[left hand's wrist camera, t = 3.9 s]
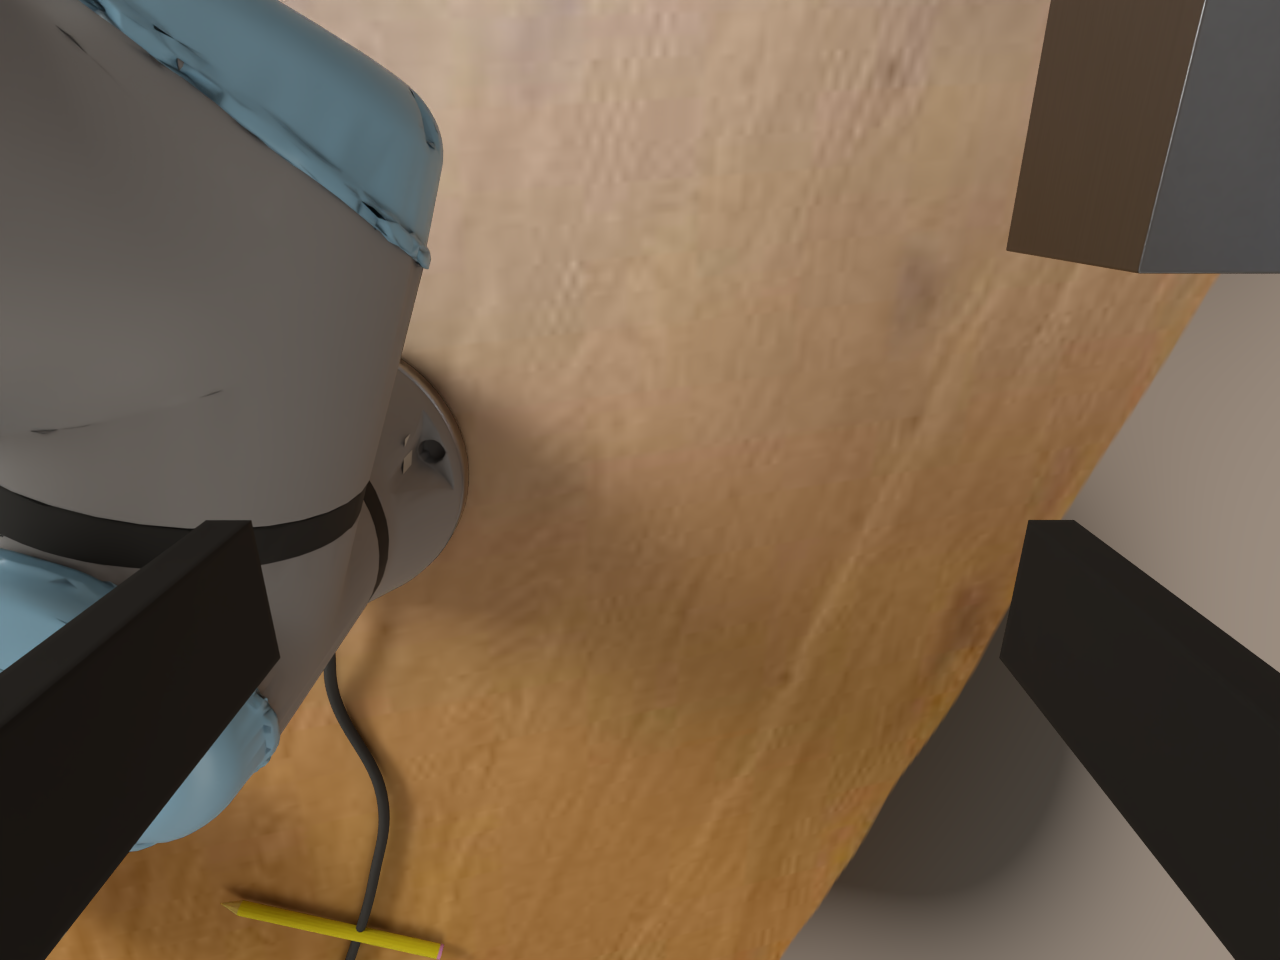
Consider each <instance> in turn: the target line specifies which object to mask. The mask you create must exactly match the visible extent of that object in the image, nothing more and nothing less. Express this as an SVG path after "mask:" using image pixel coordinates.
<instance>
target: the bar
mask: <svg viewBox="0 0 1280 960" xmlns="http://www.w3.org/2000/svg"><path fill="white" fill-rule="evenodd" d="M1006 250H1007V251H1011V252H1017V253H1023V254H1029V255H1035V256H1040V257H1046V258H1052V259H1058V260H1064V261H1070V262H1075V263H1081V264H1087V265H1093V266H1099V267H1105V268H1110V269H1116V270H1122V271H1128V272H1134V273H1280V0H1051V3H1050V9H1049V14H1048V20H1047V26H1046V31H1045V37H1044V42H1043V48H1042V53H1041V59H1040V65H1039V70H1038V76H1037V81H1036V87H1035V92H1034V98H1033V104H1032V109H1031V115H1030V120H1029V126H1028V131H1027V137H1026V143H1025V148H1024V154H1023V159H1022V165H1021V171H1020V176H1019V182H1018V187H1017V193H1016V198H1015V204H1014V210H1013V215H1012V221H1011V226H1010V232H1009V237H1008V243H1007V249H1006Z"/></svg>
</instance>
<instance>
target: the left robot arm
mask: <svg viewBox="0 0 1280 960" xmlns="http://www.w3.org/2000/svg"><path fill="white" fill-rule="evenodd" d="M442 164H443V144H442V138H441V135H440V131H439V128H438V125H437V123H436V121H435V119H434V117H433V115H432V114H431V112H430V110H429V108H428V107H427V106H426V104H425V103H424V101H423V100H422V99H421V98H420V97H419V96H418V94H417V93H415V92H414V91H413V90H412V89H411V88H410V87H409V86H408V85H407V84H406V83H404V82H403V81H402V80H401V79H399V78H398V77H397V76H395V75H394V74H393V73H391V72H390V71H389V70H387V69H386V68H384V67H383V66H381V65H380V64H379V63H377V62H376V61H374V60H373V59H371V58H370V57H368V56H367V55H365V54H364V53H362V52H361V51H359V50H358V49H356V48H354V47H353V46H351V45H350V44H348V43H346V42H345V41H343V40H342V39H340V38H338V37H337V36H335V35H334V34H332V33H331V32H329V31H327V30H326V29H324V28H323V27H321V26H319V25H318V24H316V23H315V22H313V21H311V20H310V19H308V18H306V17H305V16H303V15H301V14H300V13H298V12H296V11H295V10H293V9H291V8H290V7H288V6H286V5H285V4H283V3H281V2H280V1H278V0H0V960H45V959H46V958H47V956H48V955H49V954H50V952H51V951H52V950H53V949H54V947H55V946H56V945H57V943H58V942H59V941H60V940H61V938H62V937H63V936H64V934H65V933H66V932H67V931H68V929H69V928H70V927H71V926H72V924H73V923H74V922H75V920H76V919H77V918H78V917H79V915H80V914H81V913H82V911H83V910H84V909H85V908H86V906H87V905H88V904H89V902H90V901H91V900H92V899H93V897H94V896H95V895H96V894H97V892H98V891H99V890H100V888H101V887H102V886H103V885H104V883H105V882H106V881H107V879H108V878H109V877H110V876H111V874H112V873H113V872H114V870H115V869H116V868H117V867H118V865H119V864H120V863H121V862H122V860H123V859H124V858H125V856H126V855H127V854H128V853H129V852H131V851H138V850H142V849H145V848H147V847H150V846H153V845H155V844H157V843H163V842H169V841H173V840H176V839H179V838H182V837H185V836H187V835H189V834H191V833H193V832H195V831H196V830H198V829H200V828H201V827H203V826H205V825H206V824H207V823H209V822H210V821H211V820H213V819H214V818H215V817H217V816H218V815H219V814H220V813H221V812H222V811H223V810H224V809H225V808H226V807H227V806H228V805H229V804H230V802H231V801H232V800H233V799H234V797H235V796H236V795H237V793H238V792H239V791H240V789H241V788H242V787H243V785H244V784H245V783H246V781H247V780H248V779H249V778H250V777H251V775H252V774H253V773H255V772H257V771H258V770H259V769H260V768H261V767H263V766H265V765H266V764H267V763H268V762H269V761H270V758H271V756H272V754H273V753H274V752H275V751H276V748H277V746H278V744H279V740H280V735H281V733H282V732H283V730H284V729H285V727H286V726H287V724H288V723H289V721H290V720H291V718H292V717H293V715H294V714H295V712H296V711H297V709H298V708H299V706H300V705H301V703H302V702H303V700H304V699H305V697H306V696H307V694H308V693H309V691H310V690H311V688H312V687H313V685H314V684H315V682H316V681H317V679H318V678H319V676H320V675H321V673H322V672H323V670H324V680H325V687H326V691H327V695H328V698H329V701H330V704H331V707H332V710H333V712H334V714H335V716H336V718H337V720H338V722H339V724H340V726H341V728H342V729H343V731H344V733H345V735H346V736H347V738H348V739H349V741H350V743H351V744H352V746H353V747H354V749H355V751H356V752H357V754H358V755H359V757H360V759H361V760H362V762H363V764H364V766H365V768H366V770H367V772H368V774H369V776H370V778H371V781H372V783H373V786H374V790H375V794H376V798H377V804H378V813H379V827H378V836H377V842H376V847H375V852H374V856H373V860H372V865H371V869H370V874H369V879H368V884H367V889H366V894H365V898H364V902H363V906H362V909H361V913H360V916H359V920H358V923H357V926H356V930H357V931H358V932H363V931H364V930H365V928H366V925H367V922H368V919H369V916H370V912H371V909H372V905H373V902H374V898H375V894H376V889H377V885H378V880H379V875H380V870H381V866H382V861H383V857H384V853H385V849H386V844H387V839H388V832H389V820H390V816H389V802H388V796H387V791H386V787H385V783H384V780H383V777H382V775H381V773H380V770H379V768H378V766H377V764H376V762H375V760H374V758H373V756H372V755H371V753H370V751H369V750H368V748H367V746H366V745H365V743H364V741H363V740H362V738H361V737H360V735H359V733H358V732H357V730H356V728H355V727H354V725H353V723H352V721H351V720H350V718H349V716H348V714H347V712H346V709H345V707H344V705H343V702H342V699H341V696H340V693H339V689H338V684H337V677H336V655H335V652H336V650H337V649H338V647H339V646H340V644H341V643H342V641H343V640H344V638H345V637H346V635H347V634H348V632H349V631H350V629H351V628H352V626H353V625H354V623H355V622H356V620H357V619H358V617H359V616H360V614H361V613H362V611H363V610H364V608H365V607H366V605H367V603H369V602H370V601H372V600H374V599H376V598H378V597H380V596H382V595H384V594H386V593H388V592H390V591H392V590H394V589H396V588H398V587H400V586H402V585H403V584H405V583H407V582H408V581H410V580H411V579H413V578H414V577H416V576H417V575H418V574H419V573H420V572H422V571H423V570H424V569H425V568H426V567H427V566H428V565H430V564H431V563H432V562H433V560H434V559H435V558H436V557H437V556H438V555H439V554H440V553H441V551H442V550H443V549H444V547H445V546H446V544H447V543H448V541H449V539H450V538H451V536H452V534H453V532H454V531H455V529H456V527H457V525H458V523H459V521H460V518H461V516H462V513H463V510H464V507H465V503H466V499H467V494H468V484H469V469H468V460H467V454H466V449H465V445H464V442H463V439H462V435H461V432H460V430H459V428H458V425H457V423H456V421H455V419H454V417H453V415H452V413H451V412H450V410H449V408H448V407H447V405H446V404H445V402H444V401H443V399H442V398H441V396H440V395H439V394H438V393H437V391H436V390H435V389H434V388H433V386H432V385H431V384H430V383H429V382H428V381H427V380H426V379H425V378H424V377H423V376H422V375H421V374H420V373H418V372H417V371H416V370H415V369H414V368H413V367H411V366H410V365H409V364H407V363H406V362H405V361H403V360H402V359H400V358H401V354H402V350H403V346H404V342H405V338H406V334H407V330H408V326H409V322H410V318H411V315H412V311H413V307H414V303H415V299H416V295H417V291H418V287H419V283H420V279H421V275H422V271H423V268H425V269H429V265H430V261H431V256H430V252H429V250H428V248H427V242H428V237H429V232H430V226H431V221H432V216H433V211H434V206H435V201H436V196H437V191H438V186H439V180H440V175H441V170H442ZM1000 659H1001V661H1002V662H1003V663H1004V664H1005V666H1006V667H1007V668H1008V669H1009V671H1010V672H1011V673H1012V675H1013V676H1014V677H1015V678H1016V680H1017V681H1018V682H1019V684H1020V685H1021V686H1022V687H1023V689H1024V690H1025V691H1026V693H1027V694H1028V695H1029V696H1030V698H1031V699H1032V700H1033V701H1034V703H1035V704H1036V705H1037V707H1038V708H1039V709H1040V710H1041V712H1042V713H1043V714H1044V716H1045V717H1046V718H1047V719H1048V721H1049V722H1050V723H1051V724H1052V726H1053V727H1054V728H1055V730H1056V731H1057V732H1058V733H1059V735H1060V736H1061V737H1062V739H1063V740H1064V741H1065V742H1066V744H1067V745H1068V746H1069V747H1070V749H1071V750H1072V751H1073V753H1074V754H1075V755H1076V756H1077V758H1078V759H1079V760H1080V762H1081V763H1082V764H1083V765H1084V767H1085V768H1086V769H1087V771H1088V772H1089V773H1090V774H1091V776H1092V777H1093V778H1094V780H1095V781H1096V782H1097V783H1098V785H1099V786H1100V787H1101V789H1102V790H1103V791H1104V792H1105V794H1106V795H1107V796H1108V797H1109V799H1110V800H1111V801H1112V803H1113V804H1114V805H1115V806H1116V808H1117V809H1118V810H1119V812H1120V813H1121V814H1122V815H1123V817H1124V818H1125V819H1126V821H1127V822H1128V823H1129V824H1130V826H1131V827H1132V828H1133V829H1134V831H1135V832H1136V833H1137V835H1138V836H1139V837H1140V838H1141V840H1142V841H1143V842H1144V844H1145V845H1146V846H1147V847H1148V849H1149V850H1150V851H1151V852H1152V854H1153V855H1154V856H1155V858H1156V859H1157V860H1158V862H1159V863H1160V864H1161V865H1162V867H1163V868H1164V869H1165V870H1166V872H1167V873H1168V874H1169V876H1170V877H1171V878H1172V879H1173V881H1174V882H1175V883H1176V885H1177V886H1178V887H1179V888H1180V890H1181V891H1182V892H1183V894H1184V895H1185V896H1186V897H1187V899H1188V900H1189V901H1190V902H1191V904H1192V905H1193V906H1194V908H1195V909H1196V910H1197V911H1198V913H1199V914H1200V915H1201V917H1202V918H1203V919H1204V920H1205V922H1206V923H1207V924H1208V926H1209V927H1210V928H1211V929H1212V931H1213V932H1214V933H1215V934H1216V936H1217V937H1218V938H1219V940H1220V941H1221V942H1222V943H1223V945H1224V946H1225V947H1226V949H1227V950H1228V951H1229V952H1230V954H1231V955H1232V956H1233V958H1234V959H1235V960H1280V673H1279V672H1278V671H1276V670H1275V669H1274V668H1272V667H1271V666H1270V665H1268V664H1267V663H1266V662H1264V661H1263V660H1262V659H1260V658H1259V657H1258V656H1256V655H1255V654H1253V653H1252V652H1251V651H1249V650H1248V649H1247V648H1245V647H1244V646H1243V645H1241V644H1240V643H1239V642H1237V641H1236V640H1235V639H1233V638H1232V637H1231V636H1229V635H1228V634H1227V633H1225V632H1224V631H1223V630H1221V629H1220V628H1219V627H1217V626H1216V625H1214V624H1213V623H1212V622H1210V621H1209V620H1208V619H1206V618H1205V617H1204V616H1202V615H1201V614H1200V613H1198V612H1197V611H1196V610H1194V609H1193V608H1192V607H1190V606H1189V605H1187V604H1186V603H1185V602H1183V601H1182V600H1181V599H1179V598H1178V597H1177V596H1175V595H1174V594H1173V593H1171V592H1170V591H1169V590H1167V589H1166V588H1165V587H1163V586H1162V585H1160V584H1159V583H1158V582H1157V581H1155V580H1154V579H1153V578H1151V577H1150V576H1148V575H1147V574H1146V573H1144V572H1143V571H1142V570H1140V569H1139V568H1138V567H1136V566H1135V565H1134V564H1132V563H1131V562H1130V561H1128V560H1127V559H1126V558H1124V557H1123V556H1122V555H1120V554H1119V553H1118V552H1116V551H1115V550H1113V549H1112V548H1111V547H1109V546H1108V545H1107V544H1105V543H1104V542H1103V541H1101V540H1100V539H1099V538H1097V537H1096V536H1095V535H1093V534H1092V533H1091V532H1089V531H1088V530H1087V529H1085V528H1084V527H1083V526H1081V525H1080V524H1079V523H1077V522H1076V521H1074V520H1029V521H1028V525H1027V530H1026V535H1025V540H1024V544H1023V549H1022V554H1021V558H1020V563H1019V568H1018V573H1017V577H1016V582H1015V587H1014V591H1013V596H1012V601H1011V606H1010V610H1009V615H1008V620H1007V625H1006V629H1005V634H1004V639H1003V643H1002V648H1001V653H1000ZM360 943H361V942H357V941H351V944H350V947H349V950H348V953H347V956H346V959H345V960H355V958H356V955H357V952H358V949H359V946H360Z"/></svg>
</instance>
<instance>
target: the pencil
mask: <svg viewBox="0 0 1280 960" xmlns="http://www.w3.org/2000/svg"><path fill="white" fill-rule="evenodd" d="M220 904H222V905H223V906H224V907H226V908H227V909H229V910H230V911H232V912H233V913H235V914H236V915H238V916H242V917H247V918H251V919H256V920H260V921H265V922H270V923H274V924H279V925H283V926H288V927H292V928H297V929H302V930H306V931H311V932H315V933H320V934H325V935H329V936H334V937H338V938H343V939H347V940H352V941H357V942H361V943H366V944H370V945H375V946H379V947H384V948H389V949H393V950H398V951H402V952H407V953H411V954H416V955H421V956H425V957H430V958H434V959H439V960H440V957H441V954H442V950H443V947H444V944H440V943H435V942H431V941H426V940H422V939H417V938H413V937H408V936H404V935H399V934H395V933H390V932H385V931H381V930H376V929H372V928H367V927H366V928H365V930H364V931H363V932H358V931H357V930H356V926H357V925H354V924H349V923H345V922H340V921H336V920H331V919H326V918H322V917H317V916H313V915H308V914H304V913H299V912H295V911H290V910H286V909H281V908H277V907H272V906H267V905H263V904H258V903H254V902H249V901H245V900H241V901H233V902H226V903H220Z"/></svg>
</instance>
